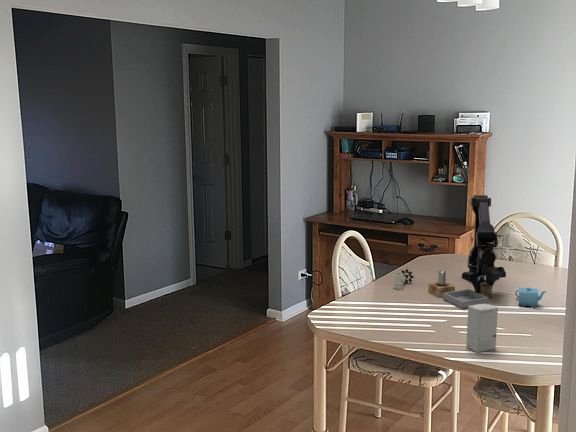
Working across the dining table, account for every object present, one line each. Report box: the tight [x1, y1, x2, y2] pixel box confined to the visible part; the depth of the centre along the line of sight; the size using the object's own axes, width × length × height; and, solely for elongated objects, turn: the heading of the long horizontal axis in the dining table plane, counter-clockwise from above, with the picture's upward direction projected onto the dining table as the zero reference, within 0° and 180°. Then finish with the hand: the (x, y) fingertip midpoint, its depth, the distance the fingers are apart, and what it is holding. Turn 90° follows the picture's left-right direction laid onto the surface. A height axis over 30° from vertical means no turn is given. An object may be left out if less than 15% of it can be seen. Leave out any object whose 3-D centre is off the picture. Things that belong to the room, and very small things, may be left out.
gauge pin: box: [437, 269, 447, 287], centre depth 274 cm, size 3×3×10 cm
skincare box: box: [465, 303, 499, 353], centre depth 215 cm, size 8×6×15 cm
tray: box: [442, 288, 490, 310], centre depth 263 cm, size 13×13×3 cm
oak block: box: [427, 281, 456, 298], centre depth 274 cm, size 8×8×4 cm
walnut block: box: [474, 282, 493, 299], centre depth 270 cm, size 5×5×5 cm
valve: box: [393, 268, 415, 290], centre depth 286 cm, size 7×7×12 cm
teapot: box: [514, 286, 548, 309], centre depth 258 cm, size 12×6×8 cm, turn 70°
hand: (483, 294), depth 270 cm, fingers closed on walnut block, 5 cm apart
